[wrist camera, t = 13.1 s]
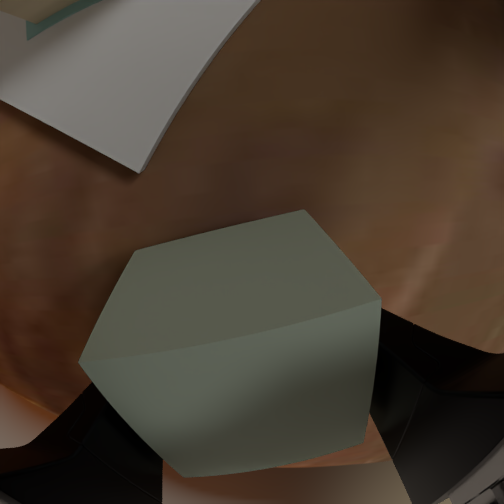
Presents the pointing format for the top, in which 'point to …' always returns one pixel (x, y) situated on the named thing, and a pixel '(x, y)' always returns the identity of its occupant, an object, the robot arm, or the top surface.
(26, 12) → the maple block
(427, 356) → the robot arm
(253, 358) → the sage block
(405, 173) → the top surface
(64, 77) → the white square plate
